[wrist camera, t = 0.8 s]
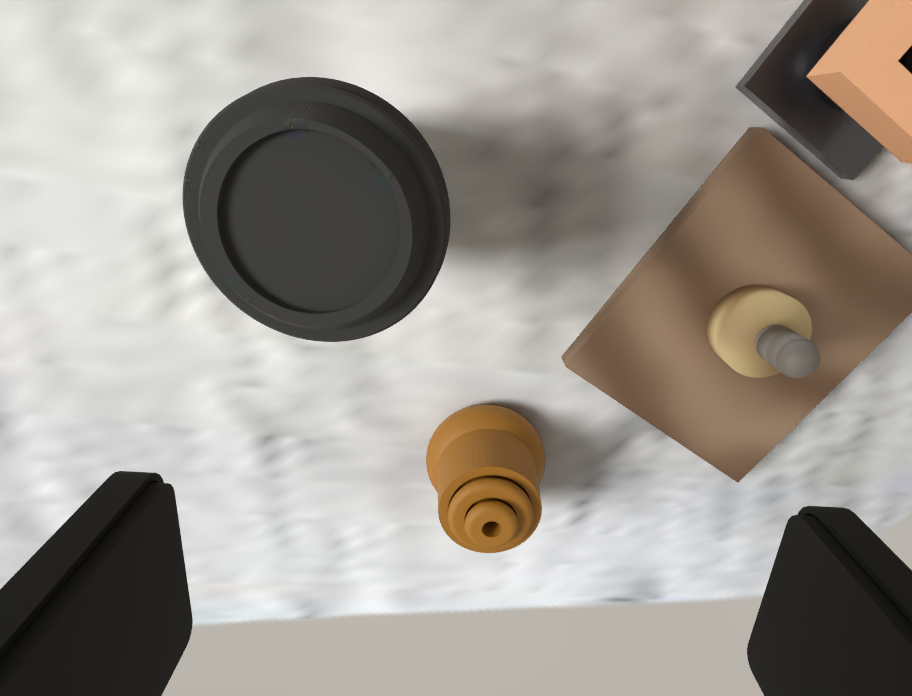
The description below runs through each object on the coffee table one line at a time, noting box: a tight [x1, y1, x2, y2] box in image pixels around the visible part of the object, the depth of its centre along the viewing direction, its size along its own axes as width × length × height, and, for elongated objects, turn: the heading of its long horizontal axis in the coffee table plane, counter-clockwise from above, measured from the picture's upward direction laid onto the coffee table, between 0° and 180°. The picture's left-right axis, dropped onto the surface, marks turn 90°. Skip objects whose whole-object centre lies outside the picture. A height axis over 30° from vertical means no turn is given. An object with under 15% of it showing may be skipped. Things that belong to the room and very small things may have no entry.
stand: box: [736, 0, 912, 180], centre depth 26 cm, size 8×8×8 cm
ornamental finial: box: [426, 405, 545, 553], centre depth 35 cm, size 8×8×8 cm
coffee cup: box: [183, 77, 450, 342], centre depth 25 cm, size 9×9×15 cm
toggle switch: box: [562, 127, 912, 482], centre depth 31 cm, size 16×14×8 cm
